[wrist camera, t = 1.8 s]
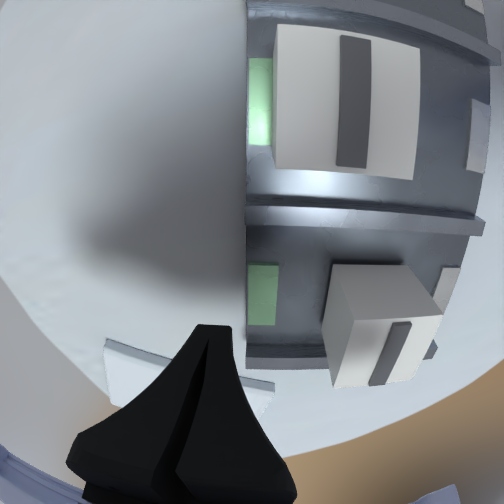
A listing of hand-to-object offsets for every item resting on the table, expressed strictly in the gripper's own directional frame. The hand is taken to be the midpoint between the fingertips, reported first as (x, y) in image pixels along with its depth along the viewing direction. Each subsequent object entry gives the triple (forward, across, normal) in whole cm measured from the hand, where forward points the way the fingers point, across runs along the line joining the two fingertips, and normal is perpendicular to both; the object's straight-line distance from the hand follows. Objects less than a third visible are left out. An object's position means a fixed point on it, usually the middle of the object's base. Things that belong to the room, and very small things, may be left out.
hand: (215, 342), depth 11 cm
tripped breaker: (+3, -7, 0) cm, 8 cm away
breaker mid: (+3, -4, -9) cm, 10 cm away
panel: (+5, -7, -9) cm, 12 cm away
